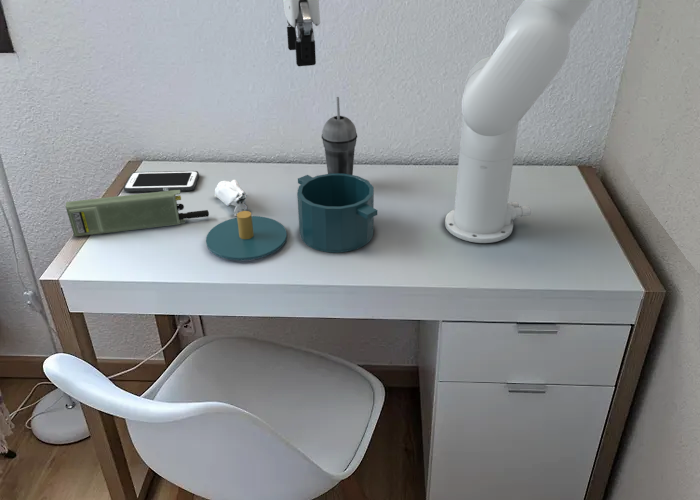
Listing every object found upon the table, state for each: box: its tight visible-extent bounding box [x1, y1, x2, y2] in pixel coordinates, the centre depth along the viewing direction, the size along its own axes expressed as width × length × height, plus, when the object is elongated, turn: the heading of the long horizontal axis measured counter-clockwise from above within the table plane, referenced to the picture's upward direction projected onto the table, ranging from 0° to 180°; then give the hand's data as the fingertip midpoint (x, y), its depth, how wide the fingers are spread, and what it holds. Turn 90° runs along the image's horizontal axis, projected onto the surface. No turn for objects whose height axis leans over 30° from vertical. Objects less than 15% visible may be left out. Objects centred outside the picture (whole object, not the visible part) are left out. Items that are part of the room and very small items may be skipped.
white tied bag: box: [213, 179, 248, 217], centre depth 131 cm, size 5×7×10 cm
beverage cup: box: [321, 96, 358, 175], centre depth 133 cm, size 7×7×20 cm
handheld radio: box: [65, 190, 210, 237], centre depth 124 cm, size 7×3×25 cm
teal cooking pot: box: [296, 173, 378, 254], centre depth 120 cm, size 14×19×9 cm
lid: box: [205, 210, 288, 261], centre depth 119 cm, size 15×15×6 cm
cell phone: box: [123, 170, 200, 193], centre depth 140 cm, size 8×15×1 cm, turn 92°
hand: (301, 56), depth 114 cm, fingers open, 9 cm apart
